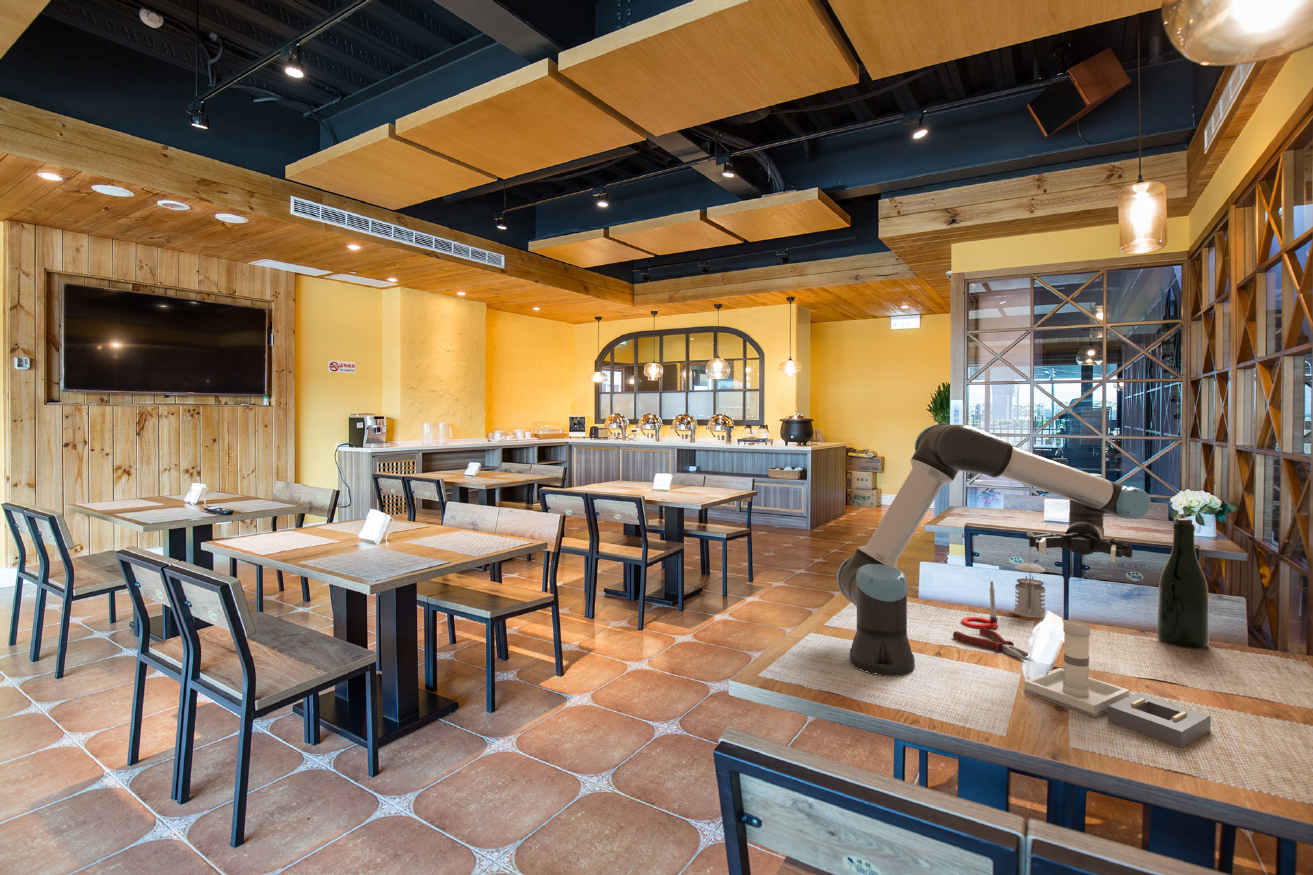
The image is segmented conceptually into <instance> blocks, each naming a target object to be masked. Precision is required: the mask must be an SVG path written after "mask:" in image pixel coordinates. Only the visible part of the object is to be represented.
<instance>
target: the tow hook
mask: <svg viewBox="0 0 1313 875" xmlns="http://www.w3.org/2000/svg"><path fill="white" fill-rule="evenodd" d="M989 586H990V588H989V597H990V598H989V599H990V600H989V601H990V602H989V603H990V607H989V613H990V615H989V618H986V617H979V616H966V617H963V618H961V619H960V621H961V622H960V623H961V624H962V625H964V626H965V627H966V626H967V627H970V628H974V629H975V628H976V629H980V628H986V629H988V628H991V629H994V630H997V629H998V627H999V626H998V617H997V608H996V600H995V599H996V597H995V588H994V581H993V580H991V581H989ZM972 622H983V623H972Z"/></svg>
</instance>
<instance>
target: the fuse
mask: <svg viewBox="0 0 1313 875" xmlns="http://www.w3.org/2000/svg"><path fill="white" fill-rule="evenodd" d="M1062 629H1063V632H1064V634H1063V635H1064V639H1063V640H1064V642H1063V643H1064V645H1063V646H1064V647H1063V669H1064V681H1063V692H1064V693H1066V694H1069V695H1071V696H1074V697H1077V698H1087V697H1089V686H1088V677H1089V667H1090V666H1089V665H1090V636H1091V624H1088V623H1087V622H1083V621H1079V620H1065V621H1063V628H1062Z"/></svg>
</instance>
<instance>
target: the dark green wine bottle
mask: <svg viewBox="0 0 1313 875" xmlns="http://www.w3.org/2000/svg"><path fill="white" fill-rule="evenodd" d="M1172 529H1173V530H1172V531H1173V537H1172V538H1173V539H1172V540H1173V541H1172V549H1171V552H1170V555H1169V558H1168V559H1167V562H1166V564H1165V565H1164V568H1163V570H1162V572H1161V574H1160V578H1159V586H1158V599H1157V600H1158V601H1157V605H1158V606H1157V637H1158V639H1159V640H1160V641H1161V642H1164V643H1166V644H1168V645H1171V646H1175V647H1180V648H1185V649H1193V650H1194V649H1196V650H1197V649H1199V650H1200V649H1204V648H1205V649H1206V648H1207V647H1208V646H1209V643H1210V616H1209V615H1210V613H1209V612H1210V610H1209V609H1210V608H1209V607H1210V606H1209V605H1210V604H1209V603H1210V601H1209V585H1208V581H1207V579H1206V576H1205V574H1204V570H1203V569H1202V566H1201V565H1200V561H1199V560H1198V557H1197V553H1196V546H1195V544H1196V543H1195V530H1196V527H1195V525H1194V524H1193V519H1190V518H1183V517H1182V518H1181V517H1180V518H1179V517H1178V518H1175V523H1173V526H1172Z"/></svg>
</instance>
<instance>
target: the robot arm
mask: <svg viewBox="0 0 1313 875" xmlns="http://www.w3.org/2000/svg"><path fill="white" fill-rule="evenodd" d="M914 450H915V451H914V453H913V455H912V457H911V458H910V464H911V467H912V468H911V470H910V472H909V474H907V477H906V479H905V480H904V482H903V483H902V486H901V487H900V488H899V490H898V492H897V494H896V495H895V497H894V498H893V500H892V502H891V504H890V505H889V507H888V508H887V510H886V512H885V514H884V515H883V517H882V519H881V520H880V522H879V523H878V525H877V527H876V529H875V531H874V532H873V533H872V535H871V537H870V538H869V539H868V541H867V543H866V544H865V545H861V546H858V547H857V548H856V550H855V552H854V553H853V555H852V556H851V557H848V558H846V559H845V560H844V561H842V562H841V563H840V566H839V567H838V569H837V573H836V583H837V585H838V587H839V588H838V589H839V590H840V592H841V593H842V595H843V597H845V598H846V600H848V601H850V603H851V604H852V605H854V606H855V607H856V632H855V634H854V637H853V640H852V643H851V647H850V649H849V659H850V661H849V663H850V662H851V663H852V664H853V665H854V666H855V667H857V668H859V669H862V670H864V671H868V672H870V673H869V674H872V673H877V674H881V675H880V676H884V675H899V676H905V675H908V674H907V673H909V674H910V672H911V673H913V672H914V671H915V668H916V666H915V656H914V654H913V652H912V648H911V645H910V642H909V638H908V633H907V632H908V630H907V629H908V590H909V588H908V584H907V583H908V582H907V577H906V575H905V573H904V572H903V571H901V570H900V569H899V568H898V564H897V562H898V560H899V558H900V557H901V555H902V554H903V552H904V551H905V548H906V547H907V545H908V544H909V542H910V540H911V538H912V537H913V535H914V534H915V533H916V531H917V528H918V527H919V526H920V524H921V522H922V520H924V518H925V516H926V514H927V512H928V511H929V509H930V507H931V505H932V503H933V502H934V500H935V499H936V498H937V496H938V494H939V492H940V490H941V489H942V487H943V486H945V485H948V484H951V483H953V481H954V480H955V478H956V476H957V475H958V474H959V471H961V472H967V473H968V472H970V473H976V474H980V475H984V476H985V475H986V476H987V477H988V476H989V477H991V478H999V477H1004V478H1006V479H1009V480H1012V481H1015V482H1018V483H1021V484H1023V485H1026V486H1030V487H1033V488H1036V489H1037V490H1040V491H1045V492H1047V493H1049V494H1050V493H1051V494H1053V495H1056V496H1058V497H1062V498H1063V499H1064V498H1065V499H1068V500H1069V511H1068V512H1069V514H1068V528H1067V530H1066V531H1065V533H1063V534H1060V535H1059V536H1057V534H1055V533H1054V532H1048V533H1045V534H1038V535H1037V534H1034V536H1028V537H1029V538H1028V544H1029V545H1028V547H1029V548H1030V547H1031V548H1036V551H1037V552H1038V554H1040V555H1043V554H1044V553H1045V552H1046V551H1047V549H1051V548H1053V549H1055V548H1060V549H1063V550H1069V551H1070V552H1072V553H1074V554H1076V555H1080V556H1088V555H1091V554H1092V555H1093V553H1103V554H1105V555H1107V554H1108V555H1110V563H1115V562H1116V558H1122V557H1123V556H1124V557H1126V558H1128V559H1131V558H1133V546H1132V545H1128V544H1126V543H1123V542H1120V541H1119V540H1116V539H1114V538H1109V539H1107V541H1104V540H1103V538H1104V537H1105V536H1104V535H1105V528H1104V516H1105V515H1104V514H1108V515H1111V516H1117V517H1119V518H1123V519H1130V520H1131V519H1132V520H1137V519H1141V518H1144V517H1145V516H1147V514H1148V513H1149V512H1150V509H1151V506H1152V500H1151V498H1150V495H1149V494H1148V493H1147V492H1146V491H1145V490H1143V489H1141V488H1137V487H1135V486H1127V485H1123V484H1119V483H1117V482H1114V481H1112V480H1108V479H1106V478H1105V476H1104V475H1103V474H1099V473H1094V472H1093V473H1092V472H1091V473H1089V472H1087V471H1083V470H1080V469H1078V468H1075V467H1071V466H1068V465H1066V464H1063V463H1061V462H1057V461H1054V460H1051V459H1048V458H1046V457H1044V456H1040V455H1037V454H1034V453H1031V452H1029V451H1026V450H1023V449H1019V448H1017V447H1014V445H1013V443H1012V442H1011V441H1010V440H1008V439H1004V438H1001V437H999V436H997V435H994V434H992V433H989V432H987V431H984V430H983V429H980V428H978V427H974V426H971V425H967V424H950V423H937V424H935V425H934V424H933V425H930V426H927V427H926V428H924V429H923V430H922V431H921V432H919V434H918V435H917V437H916V439H915V442H914ZM851 663H850V664H851ZM852 664H851V665H852ZM853 665H852V666H853ZM854 666H853V667H854ZM855 667H854V668H855ZM857 668H856V669H857ZM859 669H858V670H859ZM862 670H861V671H862ZM864 671H863V672H864ZM868 672H867V673H868ZM877 674H876V675H877ZM904 674H905V675H904Z"/></svg>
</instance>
